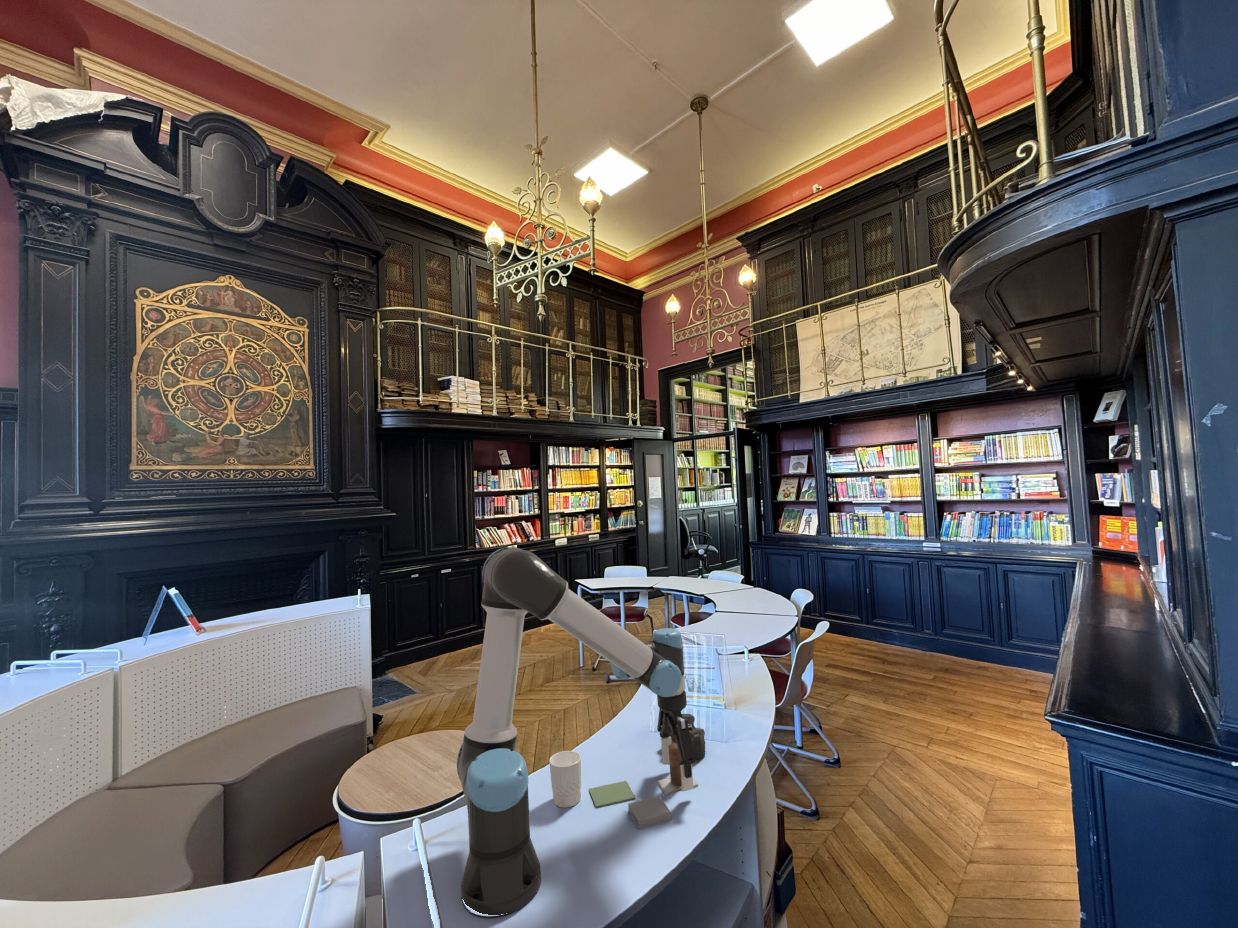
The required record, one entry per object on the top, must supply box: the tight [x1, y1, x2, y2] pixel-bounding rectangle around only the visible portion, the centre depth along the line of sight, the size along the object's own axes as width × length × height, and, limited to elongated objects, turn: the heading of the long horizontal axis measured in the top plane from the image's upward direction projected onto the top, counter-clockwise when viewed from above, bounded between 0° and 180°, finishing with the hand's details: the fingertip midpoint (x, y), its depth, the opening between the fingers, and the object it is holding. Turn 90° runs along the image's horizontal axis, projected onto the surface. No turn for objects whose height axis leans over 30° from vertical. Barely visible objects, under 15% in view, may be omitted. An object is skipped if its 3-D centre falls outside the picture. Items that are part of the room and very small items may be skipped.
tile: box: [627, 795, 672, 830], centre depth 118 cm, size 8×2×7 cm
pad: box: [588, 780, 636, 809], centre depth 128 cm, size 10×8×1 cm
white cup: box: [548, 750, 582, 809], centre depth 127 cm, size 8×8×10 cm
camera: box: [668, 713, 706, 762], centre depth 148 cm, size 13×10×10 cm
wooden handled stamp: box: [657, 743, 699, 795], centre depth 131 cm, size 9×6×10 cm, turn 106°
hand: (677, 775), depth 131 cm, fingers open, 13 cm apart
